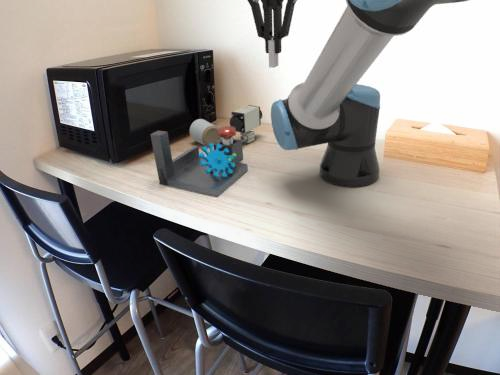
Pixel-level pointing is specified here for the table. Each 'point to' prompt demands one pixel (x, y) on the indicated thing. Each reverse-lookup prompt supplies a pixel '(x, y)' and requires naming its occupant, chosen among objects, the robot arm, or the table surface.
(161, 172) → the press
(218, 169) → the blue lobed star wheel
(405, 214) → the table surface
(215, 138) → the ceramic mug
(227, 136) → the plunger
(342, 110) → the robot arm
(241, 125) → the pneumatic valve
